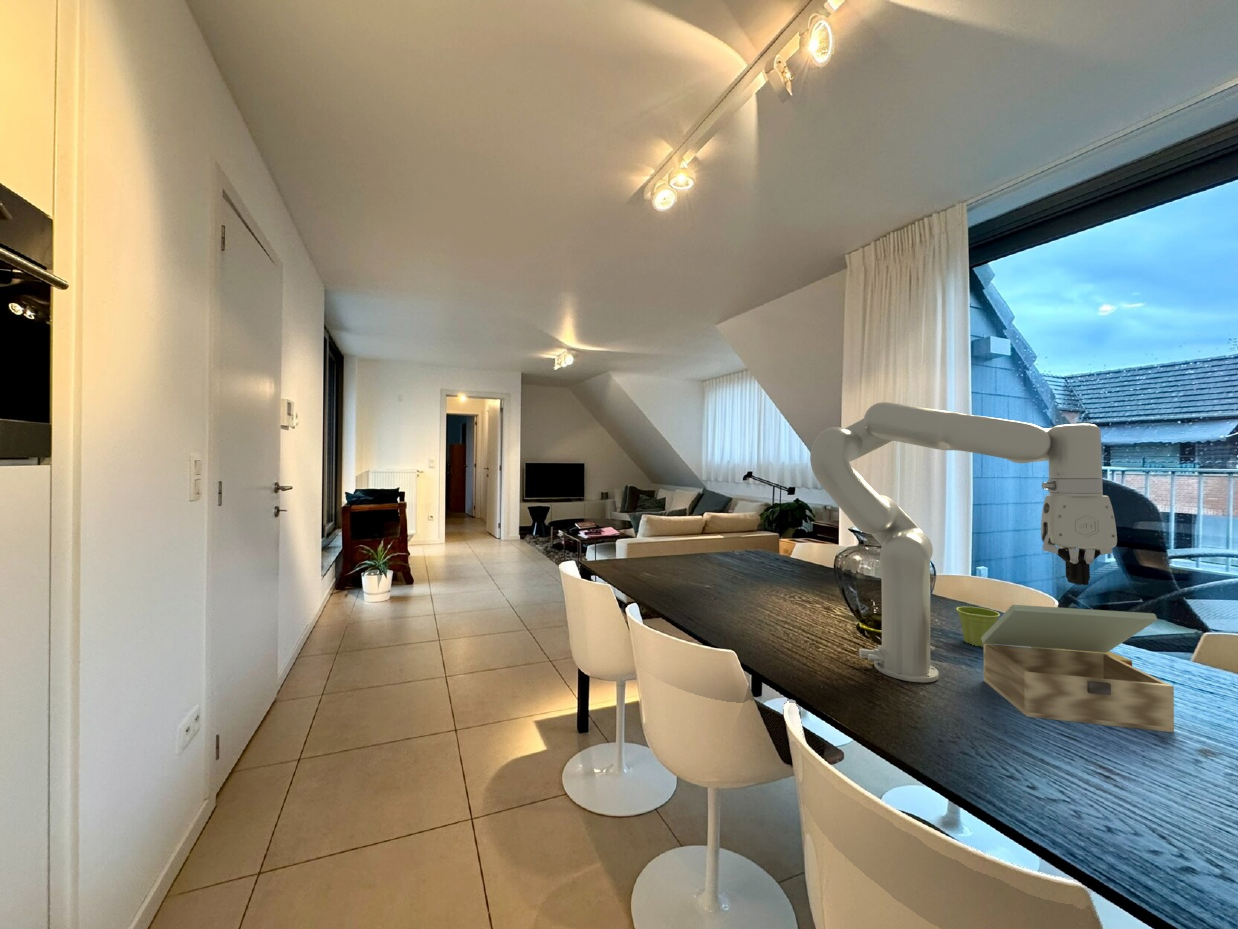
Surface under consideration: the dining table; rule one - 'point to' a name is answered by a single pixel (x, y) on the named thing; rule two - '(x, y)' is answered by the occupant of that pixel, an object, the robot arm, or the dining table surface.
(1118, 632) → the lid
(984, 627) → the plant pot
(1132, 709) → the crate
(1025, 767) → the dining table surface
